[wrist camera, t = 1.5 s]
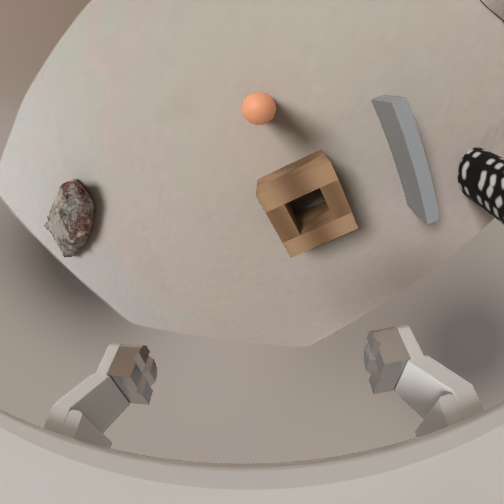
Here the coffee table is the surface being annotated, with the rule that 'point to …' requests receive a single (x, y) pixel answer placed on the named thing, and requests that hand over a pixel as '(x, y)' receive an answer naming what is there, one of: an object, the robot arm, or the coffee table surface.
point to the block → (315, 218)
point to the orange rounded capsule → (258, 108)
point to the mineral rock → (71, 217)
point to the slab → (408, 155)
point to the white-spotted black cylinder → (483, 180)
